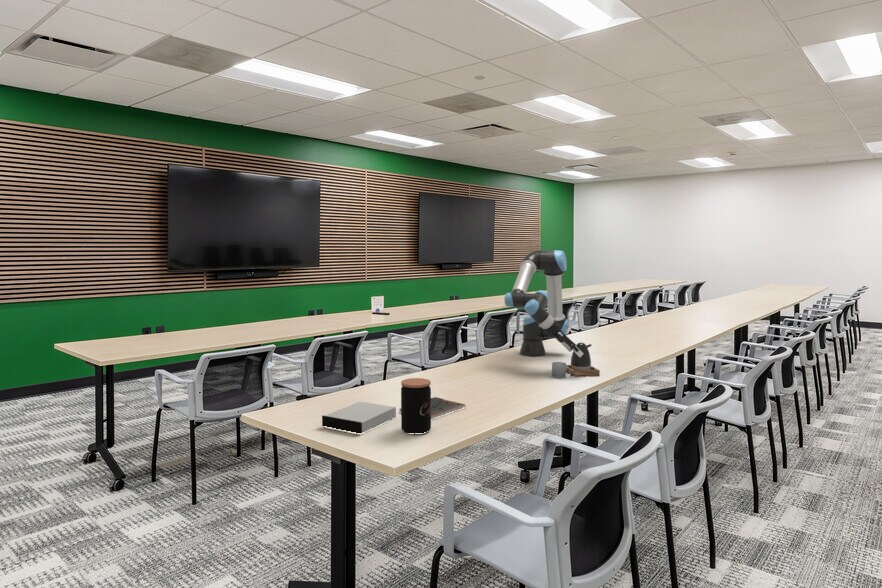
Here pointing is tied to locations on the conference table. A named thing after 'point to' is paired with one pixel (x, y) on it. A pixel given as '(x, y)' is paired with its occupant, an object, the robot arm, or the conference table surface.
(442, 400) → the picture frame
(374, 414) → the disc drive
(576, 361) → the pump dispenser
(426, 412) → the coffee jar
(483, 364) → the conference table surface
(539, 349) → the robot arm
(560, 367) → the grey round-ended cylinder
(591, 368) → the tray
